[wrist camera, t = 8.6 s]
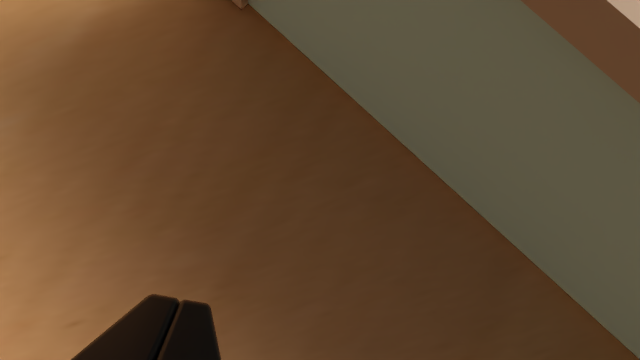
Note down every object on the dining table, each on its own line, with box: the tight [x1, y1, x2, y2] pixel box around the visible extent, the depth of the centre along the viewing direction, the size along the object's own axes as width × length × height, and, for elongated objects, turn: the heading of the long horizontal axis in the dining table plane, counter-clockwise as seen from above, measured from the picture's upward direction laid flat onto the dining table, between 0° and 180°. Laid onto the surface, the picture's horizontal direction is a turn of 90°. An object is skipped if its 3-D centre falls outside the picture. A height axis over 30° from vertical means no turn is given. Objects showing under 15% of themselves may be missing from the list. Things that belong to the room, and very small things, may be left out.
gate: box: [232, 0, 640, 359], centre depth 14 cm, size 21×2×10 cm, turn 47°
